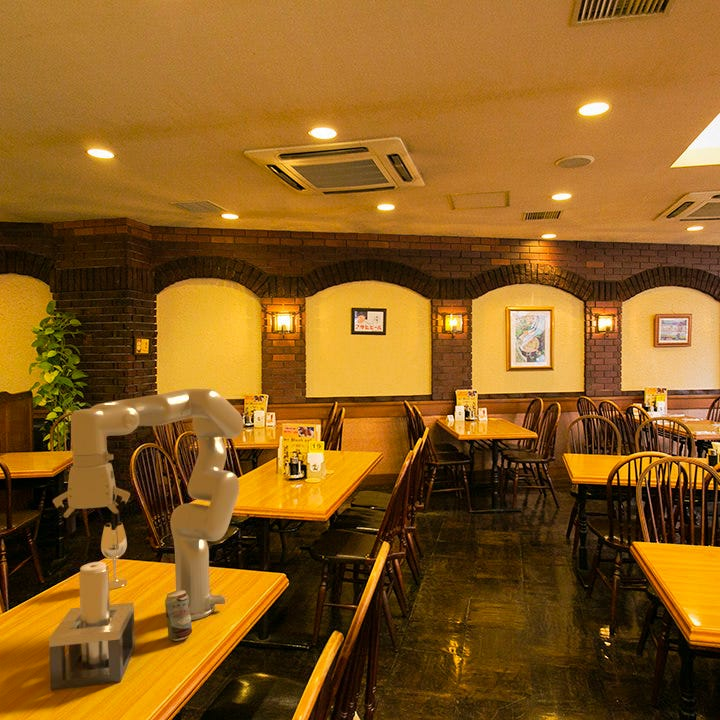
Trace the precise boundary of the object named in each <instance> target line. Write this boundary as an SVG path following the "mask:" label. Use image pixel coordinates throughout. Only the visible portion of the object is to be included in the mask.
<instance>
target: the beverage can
mask: <svg viewBox="0 0 720 720" xmlns="http://www.w3.org/2000/svg"><path fill="white" fill-rule="evenodd" d="M164 604H165V615H166V625H167V637H168V639H170V640H172V641H174V642H176V641H177V642H178V641H183V640H185V639H187V638H188V637H189V636H190V635H191V634H192V632H193V627H192V620H191V615H190V606H189V596H188V594H187V593H186V591H185V590H179V591H176V590H175V591H172V592H169V593H167V594H166V598H165V600H164Z"/></svg>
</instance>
